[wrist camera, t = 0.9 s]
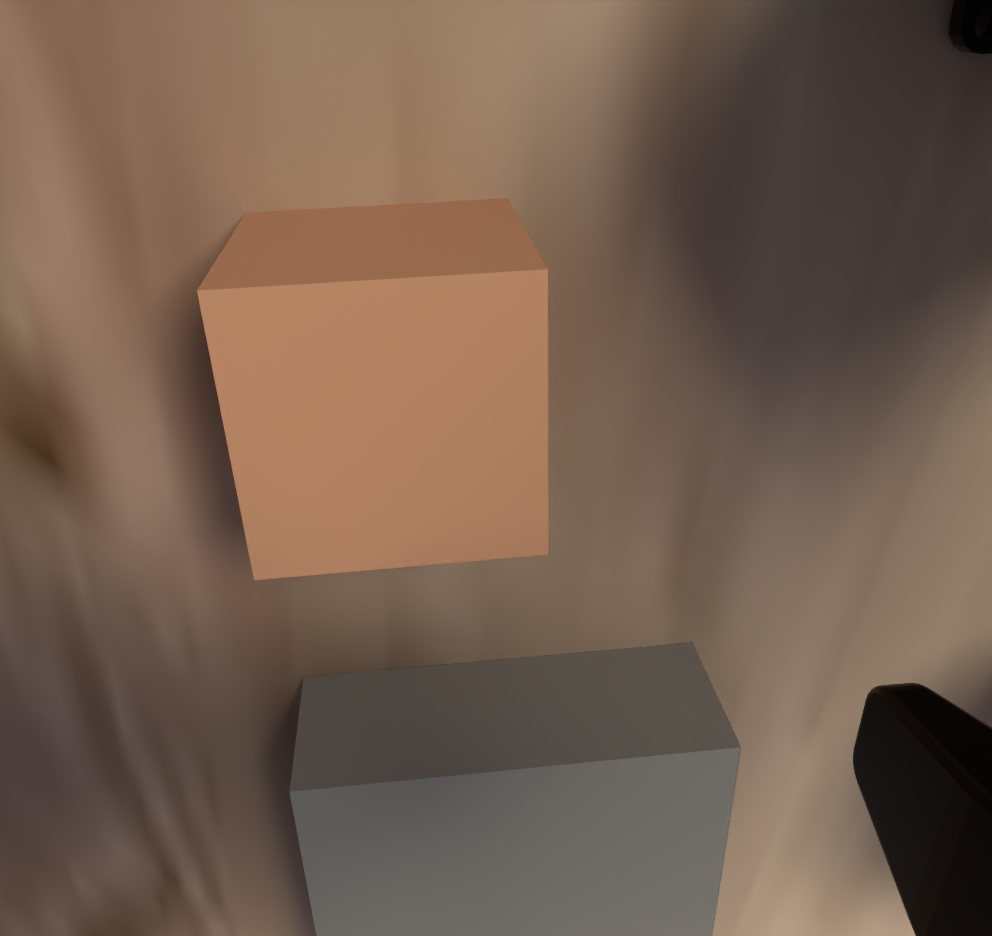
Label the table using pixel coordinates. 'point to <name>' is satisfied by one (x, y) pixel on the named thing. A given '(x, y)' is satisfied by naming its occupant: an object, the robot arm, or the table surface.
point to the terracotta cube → (383, 385)
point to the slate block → (516, 796)
